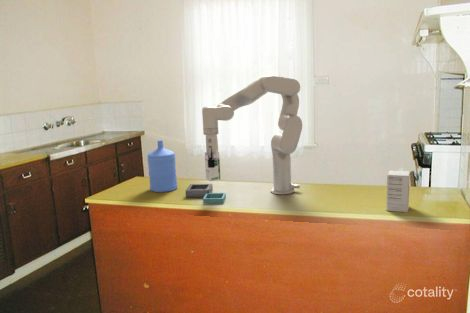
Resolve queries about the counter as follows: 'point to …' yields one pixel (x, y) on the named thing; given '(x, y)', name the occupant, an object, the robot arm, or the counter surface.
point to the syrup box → (213, 173)
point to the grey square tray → (198, 190)
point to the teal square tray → (214, 198)
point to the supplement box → (398, 191)
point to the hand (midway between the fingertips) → (212, 165)
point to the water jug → (162, 169)
